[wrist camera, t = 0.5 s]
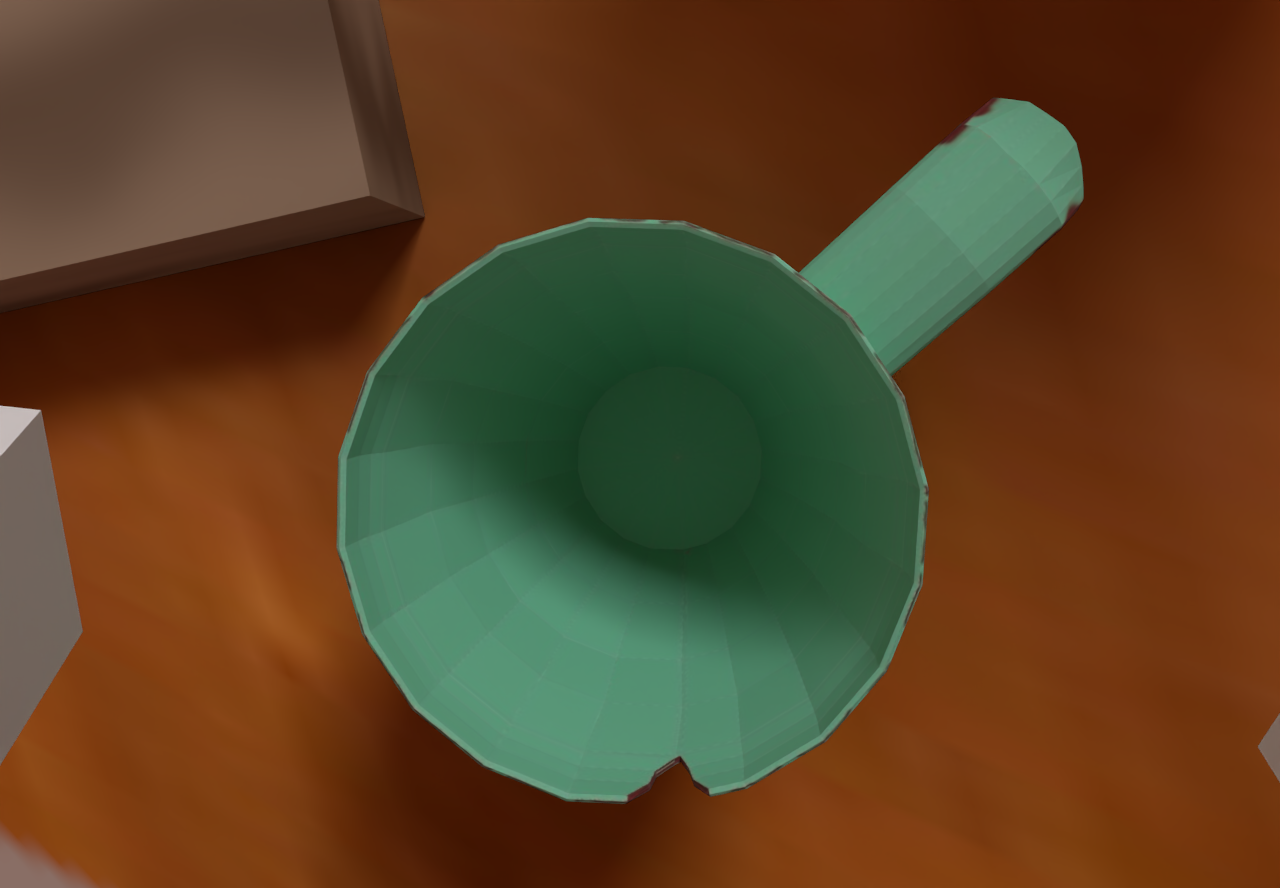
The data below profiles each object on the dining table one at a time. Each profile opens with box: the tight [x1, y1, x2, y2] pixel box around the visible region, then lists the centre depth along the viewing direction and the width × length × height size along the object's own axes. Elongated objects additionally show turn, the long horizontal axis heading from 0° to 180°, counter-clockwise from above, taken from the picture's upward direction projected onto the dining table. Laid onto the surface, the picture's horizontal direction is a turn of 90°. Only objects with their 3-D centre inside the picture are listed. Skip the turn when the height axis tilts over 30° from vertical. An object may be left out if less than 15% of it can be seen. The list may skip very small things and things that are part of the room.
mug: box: [337, 98, 1083, 804], centre depth 22 cm, size 15×10×10 cm
